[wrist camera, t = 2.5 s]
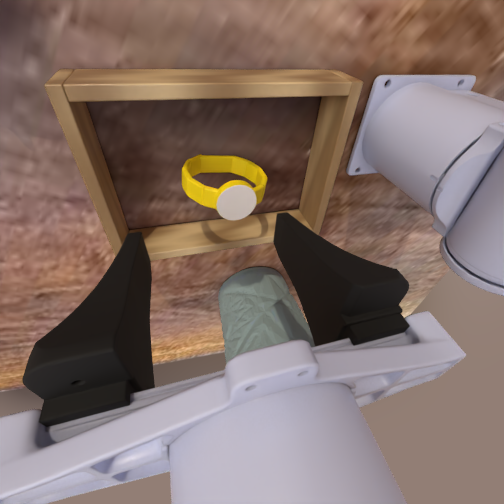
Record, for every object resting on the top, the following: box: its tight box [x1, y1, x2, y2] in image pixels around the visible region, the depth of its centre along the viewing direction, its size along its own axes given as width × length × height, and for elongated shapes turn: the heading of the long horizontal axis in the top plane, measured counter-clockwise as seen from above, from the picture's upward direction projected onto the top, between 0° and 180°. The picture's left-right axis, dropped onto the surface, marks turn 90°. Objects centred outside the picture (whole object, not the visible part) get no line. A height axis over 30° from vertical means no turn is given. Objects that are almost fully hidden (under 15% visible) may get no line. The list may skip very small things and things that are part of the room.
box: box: [44, 69, 363, 261], centre depth 20 cm, size 18×13×4 cm
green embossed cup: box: [218, 267, 315, 365], centre depth 30 cm, size 10×10×12 cm
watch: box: [182, 154, 267, 221], centre depth 20 cm, size 6×3×6 cm, turn 80°
